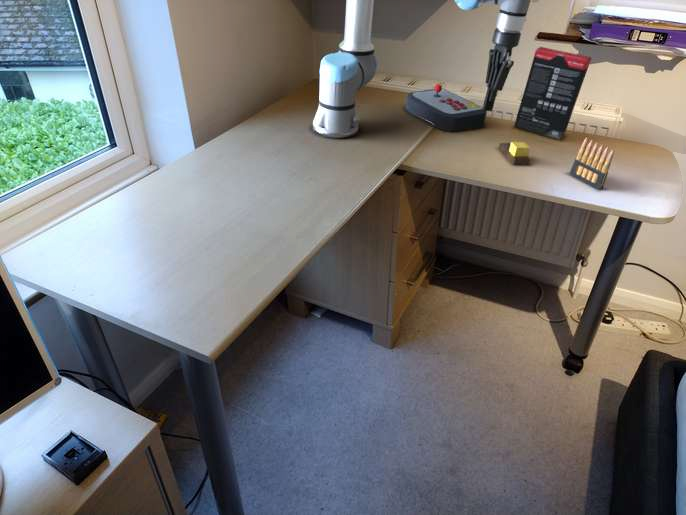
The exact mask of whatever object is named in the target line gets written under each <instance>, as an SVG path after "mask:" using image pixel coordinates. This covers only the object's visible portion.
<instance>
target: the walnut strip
mask: <svg viewBox="0 0 686 515" xmlns="http://www.w3.org/2000/svg"><path fill="white" fill-rule="evenodd" d="M510 145H511V142H500V143H499V145H498V150H499V151H500V152H501V153H502V155H504V157H505V158H506V159H507V160H508V161H509V162H510V163H511V164H512V165H513V166H529V165H530V161H531V158H530V157H529V156H528V155H527V157H514V156H513V155H512V154H511V153H510V152H509V149H510Z"/></svg>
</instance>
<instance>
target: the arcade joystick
mask: <svg viewBox="0 0 686 515" xmlns="http://www.w3.org/2000/svg"><path fill="white" fill-rule="evenodd" d="M482 108H483V106H481V105H478V104H476V103H474V102H472V101H470V100H468V99H466V98H464V97H462V96H460V95H458V94H456V93H454V92H451V91H450V90H447V89H446V88H443V86H442V84H440V83H439V84H435V85H434V88H431V89H430V88H429V89H424V90H418V91H417V90H416V91H411V92H408V93H407V95H406V100H405V108H404V109H405V110H406V111H407V112H408V113H410V114H412V115H413V116H415V117H417V118H418V119H420V120H422V121H424V122H425V123H427V124H429V125H431V126H432V127H433V128H436V129H440V130H443V131H447V132H459V131H460V132H461V131H467V130H472V129H479V128H484V125H485V121H486V117H487V113H488V111H484V110H483V109H482ZM419 116H420V117H419ZM421 117H422V118H421ZM423 118H424V119H423ZM425 119H426V120H428V121H430V122H432V123H433V124H434V125H433V124H432V123H430V122H428V121H426V120H425Z"/></svg>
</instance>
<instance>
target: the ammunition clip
mask: <svg viewBox="0 0 686 515" xmlns="http://www.w3.org/2000/svg"><path fill="white" fill-rule="evenodd" d="M588 141H589V137H586V138H585V139H584V141H582V144H581V146H580V148H579V150H578V153H577V156H576V158H575V159H574V161H573V163H572V166H571V168H570V171H569V173H568V175H569V176H571V177H573V178H575V179H577V180H579V181H581V182H583V183H585V184H587V185H588V186H590V187H591V188H594V189H596V190H602V189H603V188H604V186H605V183H606V181H607V178H608V175H609V170H610V167H611V165H612V161H613V157H614V154H615V150H614V149H611V151H610V153H609V150H610V148H609V146H607V147H606V148H605V149H604V144H601V145H600V147H599V142H596V143H595V144H594V141H593V139H591V140H590V142H589V143H588ZM593 145H594V146H593ZM603 150H604V151H603Z"/></svg>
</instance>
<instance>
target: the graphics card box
mask: <svg viewBox="0 0 686 515" xmlns="http://www.w3.org/2000/svg"><path fill="white" fill-rule="evenodd" d="M591 60H592V57H591V56H586V55H582V54H577V53H573V52H568V51H564V50H557V49H553V48H550V47H549V48H548V47H544V46H539V47H538V48H536V49H535V51H534V55H533V60H532V62H531V66H530V70H529V73H528V77H527V79H526V84H525V88H524V90H523V94H522V98H521V100H520V104H519V107H518V110H517V114H516V118H515V122H514V125H513V127H514V128H517V129H519V130H523V131H527V132H530V133H535V134H537V135H541V136H543V137H544V136H545V137H548V138H552V139H555V140H559V141H560V140H562V138H563V137H564V136H565V135H566V132H567V129H568V127H569V123H570V121H571V117H572V115H573V113H574V110H575V106H576V104H577V101H578V98H579V95H580V92H581V89H582V86H583V83H584V80H585V78H586V75H587V72H588V69H589V67H590V64H591Z"/></svg>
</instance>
